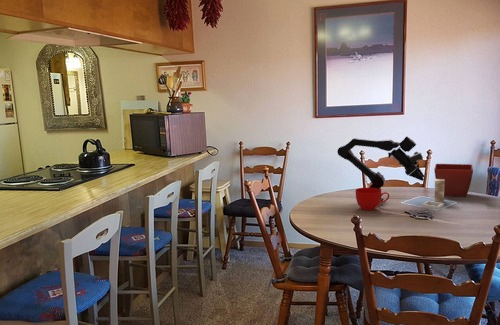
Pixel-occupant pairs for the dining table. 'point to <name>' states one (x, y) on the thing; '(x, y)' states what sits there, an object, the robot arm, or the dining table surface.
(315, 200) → the dining table surface
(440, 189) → the maple pillar
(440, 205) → the collar
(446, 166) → the plant pot
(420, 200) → the board
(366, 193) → the ceramic cup
